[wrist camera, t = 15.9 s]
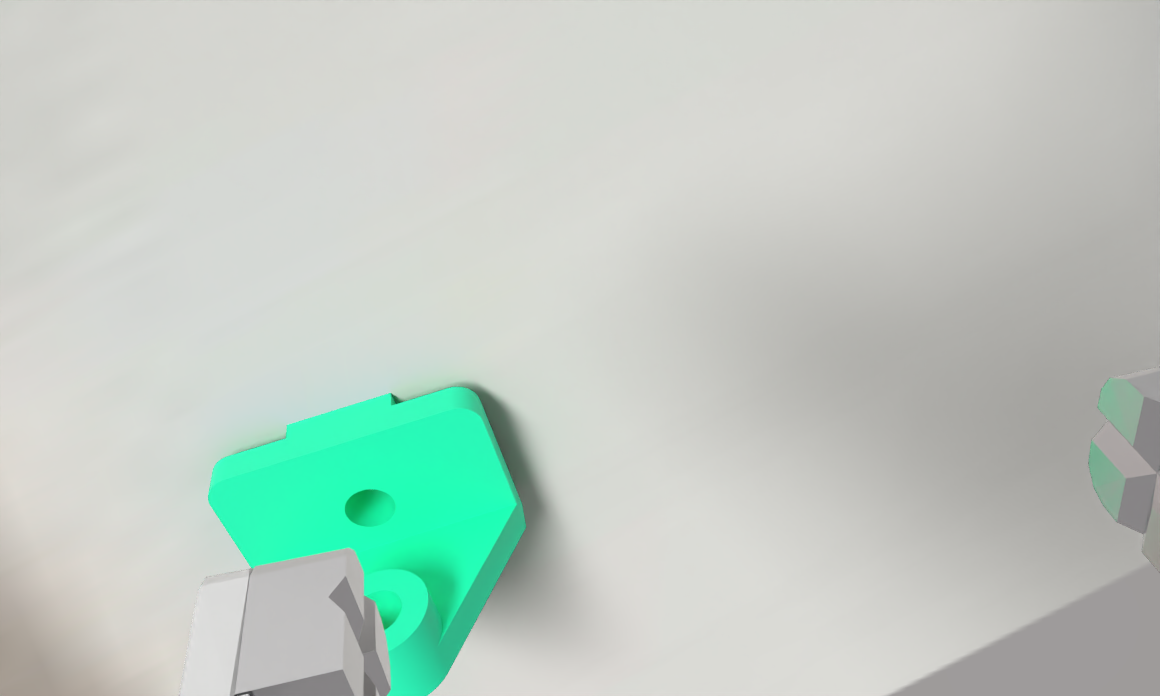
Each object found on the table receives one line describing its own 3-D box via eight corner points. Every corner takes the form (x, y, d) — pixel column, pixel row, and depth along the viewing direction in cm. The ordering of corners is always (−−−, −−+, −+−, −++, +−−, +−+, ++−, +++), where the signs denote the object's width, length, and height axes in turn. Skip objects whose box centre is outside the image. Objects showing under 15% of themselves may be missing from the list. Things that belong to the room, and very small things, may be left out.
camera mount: (470, 365, 45) (493, 532, 37) (519, 488, 50) (550, 661, 41) (206, 447, 45) (170, 631, 37) (279, 562, 50) (261, 750, 42)
